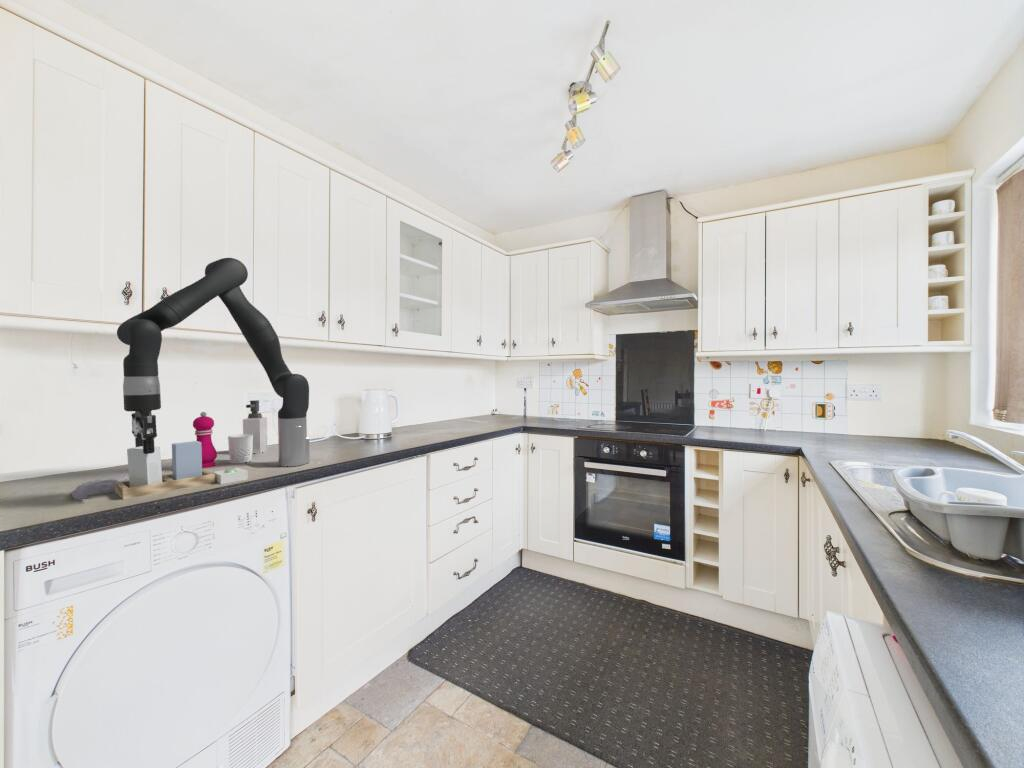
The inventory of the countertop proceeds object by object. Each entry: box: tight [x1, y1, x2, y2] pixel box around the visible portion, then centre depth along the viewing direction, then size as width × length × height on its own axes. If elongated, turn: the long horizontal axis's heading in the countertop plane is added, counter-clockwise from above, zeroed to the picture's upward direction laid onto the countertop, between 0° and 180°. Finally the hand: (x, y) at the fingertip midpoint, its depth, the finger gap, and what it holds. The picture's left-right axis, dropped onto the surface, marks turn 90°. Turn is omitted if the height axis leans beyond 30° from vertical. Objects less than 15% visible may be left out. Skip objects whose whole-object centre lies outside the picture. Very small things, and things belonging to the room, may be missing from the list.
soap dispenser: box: [242, 400, 268, 454], centre depth 170 cm, size 6×9×22 cm
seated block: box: [171, 440, 203, 480], centre depth 119 cm, size 6×4×12 cm, turn 143°
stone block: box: [71, 475, 128, 501], centre depth 114 cm, size 12×5×10 cm
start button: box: [224, 468, 235, 473], centre depth 124 cm, size 3×3×2 cm
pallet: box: [114, 468, 216, 500], centre depth 116 cm, size 20×11×4 cm, turn 143°
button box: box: [212, 467, 249, 485], centre depth 124 cm, size 7×7×4 cm
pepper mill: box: [192, 411, 218, 469], centre depth 142 cm, size 7×7×20 cm
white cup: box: [227, 433, 253, 464], centre depth 153 cm, size 8×8×10 cm
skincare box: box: [126, 445, 163, 487], centre depth 112 cm, size 6×4×12 cm
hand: (145, 451), depth 112 cm, fingers open, 8 cm apart
